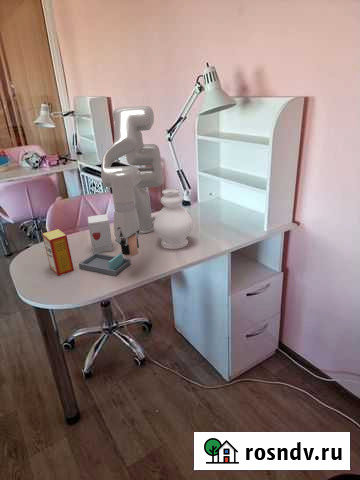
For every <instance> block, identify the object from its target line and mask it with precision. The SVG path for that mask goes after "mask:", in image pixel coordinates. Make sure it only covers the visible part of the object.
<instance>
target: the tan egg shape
mask: <svg viewBox="0 0 360 480" xmlns="http://www.w3.org/2000/svg"><path fill="white" fill-rule="evenodd" d="M123 237H124V236H123ZM123 241H124V242H125V239H123ZM127 245H129V251H130V254H129V255H125V254H123V256H125V257H132V256H133V257H134V256H136V255H138V254H139V248H138V247H137V239H136V234H132V235H131V236H129V237H128V244H127Z"/></svg>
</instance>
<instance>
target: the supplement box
mask: <svg viewBox="0 0 360 480" xmlns="http://www.w3.org/2000/svg"><path fill="white" fill-rule="evenodd" d="M109 220H110V219H109V216H108V213H105V214H96V215H91V216H90V215H89V216H87V225H88V231H89V237H90V242H91V247H92V254H94V253H99V254H102V253H106V252H113V251H114V247H113V239H112V232H111V225H110V221H109Z"/></svg>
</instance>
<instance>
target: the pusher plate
mask: <svg viewBox="0 0 360 480" xmlns="http://www.w3.org/2000/svg"><path fill="white" fill-rule="evenodd" d="M123 256H124V254H122V252H120V253H118V254H116V256H115V257H114V258H113V259H111V260H110V261H109V262H108V265H109V269H112V270H115V269H117V268H118V267H119V266H120V265H122V264H123V263H124V262H123V258H124V257H123Z"/></svg>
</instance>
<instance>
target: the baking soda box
mask: <svg viewBox="0 0 360 480" xmlns="http://www.w3.org/2000/svg"><path fill="white" fill-rule="evenodd" d="M41 235H42V238H43V243H44V248H45V250H46V256H47V261H48V264H49V268H50V269H51V270H52V272H54V273H55V274H56V275H57V276H58V277H59V276H62V275H65V274H68V273H71V272H73V271H75V268H74V265H73V260H72V259H73V258H72V255H71V249H70V246H69V241H68V237H67V235H66V234H65V233H64V232H63V231H61V230H60V229H59V228H57V229H52V230H49V231H47V232H46V231H45V232H42V233H41Z"/></svg>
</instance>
